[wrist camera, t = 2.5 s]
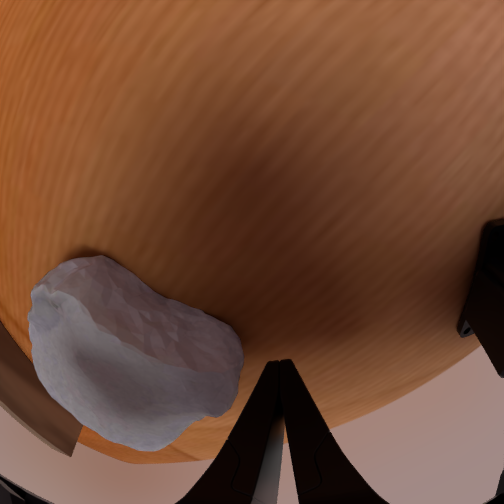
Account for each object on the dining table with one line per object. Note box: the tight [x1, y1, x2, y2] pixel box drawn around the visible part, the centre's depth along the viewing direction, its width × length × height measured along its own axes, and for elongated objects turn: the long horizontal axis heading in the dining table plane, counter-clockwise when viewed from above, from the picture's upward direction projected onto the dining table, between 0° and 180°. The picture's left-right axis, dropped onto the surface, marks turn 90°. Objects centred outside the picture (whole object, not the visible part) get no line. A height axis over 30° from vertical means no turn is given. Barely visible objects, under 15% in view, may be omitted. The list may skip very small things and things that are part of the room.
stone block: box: [28, 255, 244, 451], centre depth 12 cm, size 12×5×10 cm
